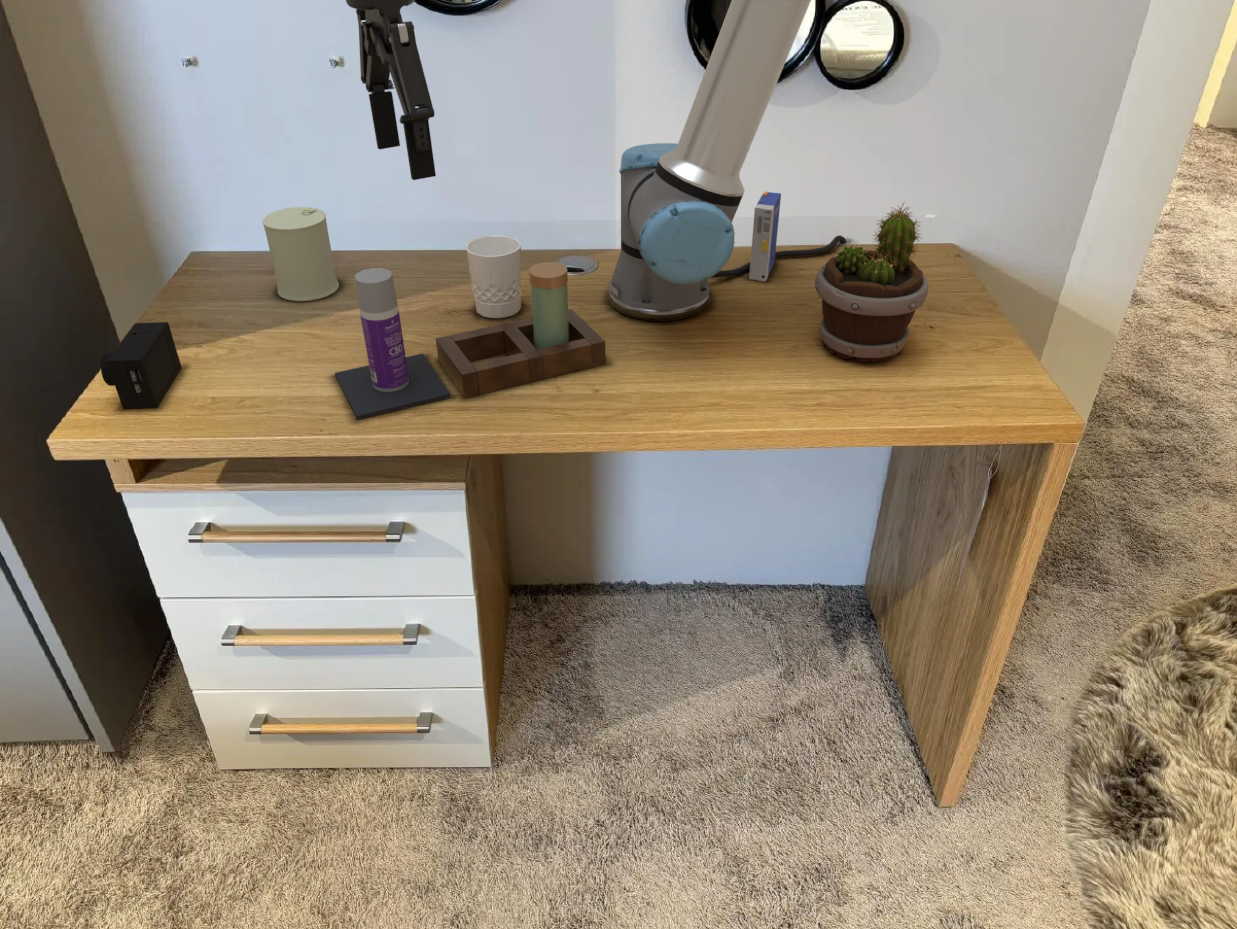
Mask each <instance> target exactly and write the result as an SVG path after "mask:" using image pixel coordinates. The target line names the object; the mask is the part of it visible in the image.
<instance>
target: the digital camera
mask: <svg viewBox="0 0 1237 929" xmlns="http://www.w3.org/2000/svg"><path fill="white" fill-rule="evenodd" d="M182 369H183V367H182V364H181V361H180V357H179V354H178V351H177V347H176V344H175V341H174V337H173V334H172V330H171V327H170V324H169V322H167V321H159V322H158V321H157V322H156V321H155V322H135V323H134V324H133V325H132V327H131V328H130V329H129V330H128V332H127V333H126V334H125V336H124V337H123V338H122V339H121V341H120V342H119V344H118V345H117V346H116V348H114V349H113V350H111V349H109V350H105V351H104V352H102V354H101V358H100V373H101V377H102V379H103V381H104V383H105V384H106V385H107V386H110V387H115V389H116V393H117V396H118V398H119V402H120V404H121V407H122V409H123V410H128V409H131V410H132V409H154V408H155V409H156V408H158V407H159V406H160V404H161V403H162V401H163V399H164V398H165V396H166V395H167V393H168V391H169V389H170V388H171V386H172V384H174V381H175V379H176V378H177V376H178V375H179V373H180V372H181V370H182Z"/></svg>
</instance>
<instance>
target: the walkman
mask: <svg viewBox="0 0 1237 929" xmlns="http://www.w3.org/2000/svg"><path fill="white" fill-rule="evenodd" d="M781 199H782V193H781V192H772V191H771V192H770V191H763V193H762V194H761V196H760V198H759V200H758V201H757V203H756V205H755V207H754V214H753V224H752V225H753V227H752V237H751V248H750V250H751V251H750V261H749V262H750V269H749V275H748V277H749V278H748V279H749V280H753V281H758V282H766V281H767V279H768V277H769V275H770V273H771V271H772V268H773V266H774V264H775V261H776V258H775V252H777V241H778V230H779V218H780V209H781Z"/></svg>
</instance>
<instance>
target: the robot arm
mask: <svg viewBox="0 0 1237 929" xmlns="http://www.w3.org/2000/svg"><path fill="white" fill-rule="evenodd" d="M415 1H416V0H345V2H346V5H347V6H348V7H349V8H352V9H355V14H356V16H357V24H358V38H359V39H358V43H359V63H360V64H359V66H360V67H359V68H360V81H361V82H362V84H363V85H365V90H366V91H367V92H368V98H369V99H368V100H369V105H370V111H371V117H372V124H373V129H374V136H375V141H376V147H377V149H378V150H384V149H391V148H396V147H401V143H400V135H399V130H398V123H397V117H396V116H397V115H396V110H395V109H396V108H395V104H394V97H393V96H394V95H393V92H392V91H391V90H394V89H395V91H396V95H397V96H398V100H399V103H400V106H401V109H402V112H403V114H401V115H400V117H399V123H400V124H402V125H403V131H404V132H403V133H404V139H405V146H406V152H407V158H408V166H409V172H410V178H411V179H412V181H417V180H422V179H428V178H434V177H437V175H436V166H435V160H434V152H433V145H432V138H431V130H430V122H429V120H430V119H431V118H434V117H435V109H434V107H433V102H432V100H431V95H430V91H429V87H428V84H427V79H426V76H425V72H424V67H423V64H422V61H421V57H420V53H419V48H418V45H417V40H416V34H415V26H414V24H413V22H412V21H411V20H409V21H403V17H402V14H401V9H402V8H403V7H408V6H411V5H412V4H413V3H414V2H415ZM811 1H812V0H731V1H730V3H729V7H728V8H727V12H726V14H725V17H724V20H723V23H722V26H721V28H720V31H719V33H718V36H717V38H716V40H715V44H714V47H713V49H712V51H711V55H710V56H709V59H708V62H707V65H706V68H705V70H704V73H703V75H702V78H701V80H700V83H699V86H698V89H697V92H696V95H695V97H694V100H693V103H692V105H691V108H690V110H689V113H688V115H687V118H686V121H685V123H684V126H683V128H682V132H681V134H680V137H679V140H678V142H677V143H675V142H674V143H672V142H659V143H657V142H656V143H645V144H640V145H634V146H631V147H629V148H626V149H625V150H624V151H623V152H622V155H621V158H620V168H619V171H618V172H619V174H620V252H619V256H618V258H617V261H616V264H615V267H614V270H613V273H612V276H611V280H610V281H607V288H608V301H609V304H610V306H611V307H612V308H613V309H614V310H616V312H619V313H620V314H622V315H625V316H627V317H630V318H634V319H637V320H642V321H643V320H644V321H651V322H669V321H671V322H672V321H679V320H683V319H687V318H690V317H694V316H696V315H698V314H700V313H702V312H703V311H704V310H705V309H706V308H707V307H708V306H709V303H710V293H711V292H710V291H711V288H710V284H709V280H708V279H715V278H723V277H734V276H738V275H741V274H743V273H746V272H748V271H750V261H749V262H747V263H746V264H744V265H742V266H739V267H736V268H733V269H725V270H722V269H723V268H724V267H725V266H726V265H727V263H728V262H729V261H730V258H731V256H732V254H733V251H734V248H735V235H736V234H735V228H734V225H733V220H734V218H735V216H736V213H737V212H738V209H739V206H740V203H741V201H742V199H743V197H744V194H745V191H746V190H745V187H744V185H743V182H742V180H741V176H740V172H741V169H742V168H743V165H744V163H745V160H746V158H747V156H748V153H749V152H750V149H751V146H752V143H753V141H754V139H755V137H756V134H757V132H758V129H759V127H760V125H761V122H762V120H763V118H764V116H765V112H766V110H767V107H768V105H769V103H770V100H771V98H772V96H773V93H774V91H775V88H776V87H777V83H778V81H779V79H780V77H781V74H782V71H783V69H784V66H785V64H786V62H787V60H788V57H789V55H790V53H791V50H792V47H793V45H794V43H795V40H796V38H797V35H798V33H799V31H800V28H801V26H802V23H803V21H804V18H805V16H806V14H807V11H808V9H809V6H810V4H811ZM390 78H391V79H390ZM847 242H848V241H847V240H846V238H845V237H844V236H843V235H836V236H834V238H833V239H832V240H831V241H830V242H829V243H828V244H827V245H825V246H821V247H818V248H809V249H808V248H807V249H792V250H790V249H789V250H780V251H779V250H778V251H776V252H775V259H777V258H778V259H779V258H786V257H787V258H789V257H806V256H815V255H816V256H817V255H822V254H825V253H828V252H831V251H832V250H833V249H834V248H835V247H836V245H837V244H838V243H840V244H843V243H844V244H848V243H847Z"/></svg>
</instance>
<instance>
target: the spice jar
mask: <svg viewBox="0 0 1237 929" xmlns="http://www.w3.org/2000/svg"><path fill="white" fill-rule="evenodd" d="M568 273H569V272H568V267H567V266H566V265H565V264H562V263H560V262H555V261H554V262H553V261H546V262H540V263H535V264H533V265H532V266H530V267H529V268H528V279H529V280H528V281H529V286H530V300H531V318H532V319H533V336H534V347H535V348H536V349H541V348H545V347H550V346H554V345H559V344H563V343H567V342H569V322H568V310H569V302H568V301H569V299H568V298H569V296H568V281H569V276H568V275H569V274H568Z"/></svg>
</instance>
